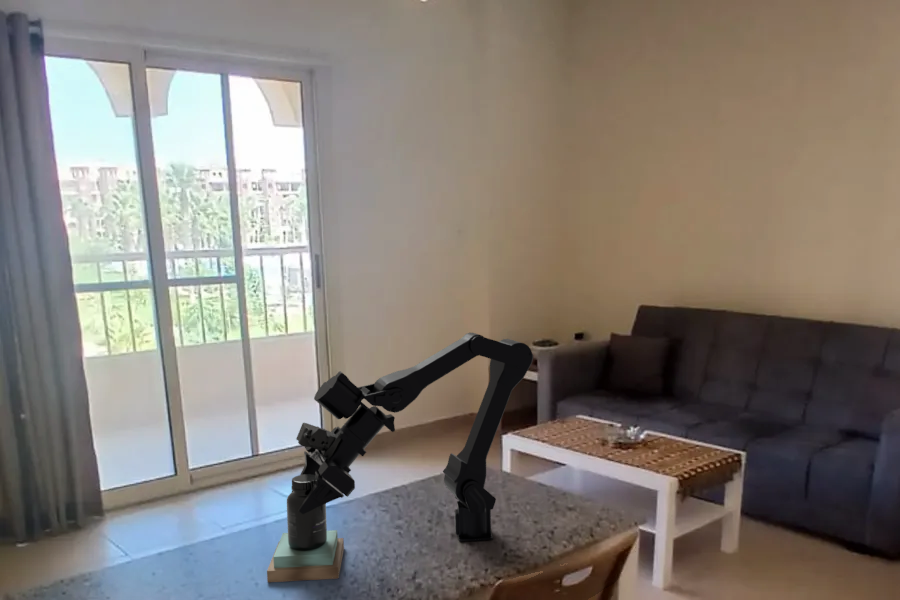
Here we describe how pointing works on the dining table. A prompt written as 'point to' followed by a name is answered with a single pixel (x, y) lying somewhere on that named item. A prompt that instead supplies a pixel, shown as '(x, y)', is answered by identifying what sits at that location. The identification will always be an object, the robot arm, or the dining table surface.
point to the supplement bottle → (305, 517)
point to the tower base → (307, 570)
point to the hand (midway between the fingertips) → (296, 503)
